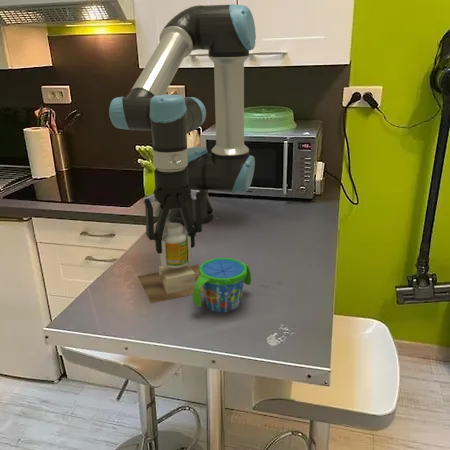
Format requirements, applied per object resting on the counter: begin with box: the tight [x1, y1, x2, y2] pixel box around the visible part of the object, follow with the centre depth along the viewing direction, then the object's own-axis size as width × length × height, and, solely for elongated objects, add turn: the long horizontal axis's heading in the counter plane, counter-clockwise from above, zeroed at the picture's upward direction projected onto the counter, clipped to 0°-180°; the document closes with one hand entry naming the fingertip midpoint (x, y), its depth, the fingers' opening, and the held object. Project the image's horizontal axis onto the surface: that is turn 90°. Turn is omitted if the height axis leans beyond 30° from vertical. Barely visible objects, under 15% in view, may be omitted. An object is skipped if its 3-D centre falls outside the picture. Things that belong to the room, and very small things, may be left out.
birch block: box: [158, 262, 195, 294], centre depth 117 cm, size 7×7×4 cm
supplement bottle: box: [162, 222, 188, 268], centre depth 114 cm, size 5×5×10 cm
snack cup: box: [192, 257, 252, 313], centre depth 108 cm, size 16×10×10 cm
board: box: [137, 264, 204, 304], centre depth 119 cm, size 14×16×1 cm
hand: (176, 261), depth 115 cm, fingers closed on supplement bottle, 5 cm apart
